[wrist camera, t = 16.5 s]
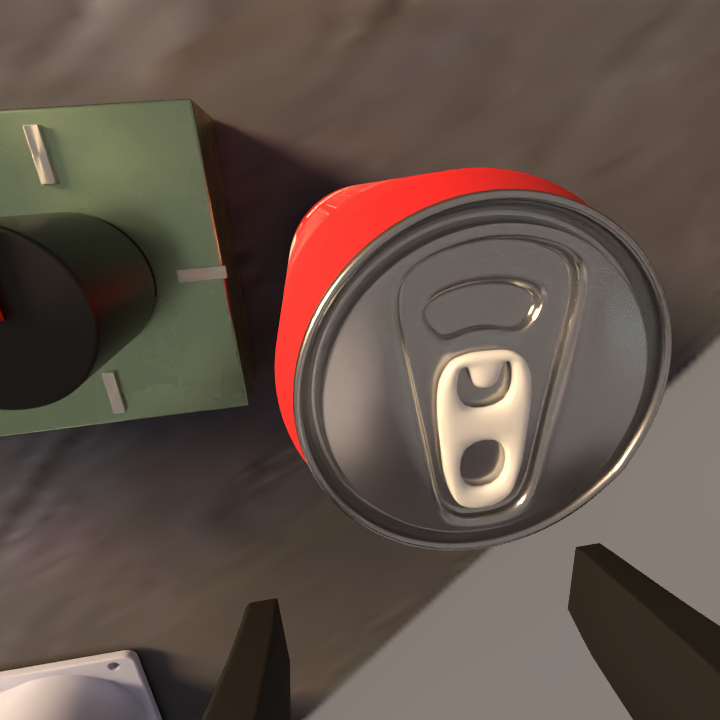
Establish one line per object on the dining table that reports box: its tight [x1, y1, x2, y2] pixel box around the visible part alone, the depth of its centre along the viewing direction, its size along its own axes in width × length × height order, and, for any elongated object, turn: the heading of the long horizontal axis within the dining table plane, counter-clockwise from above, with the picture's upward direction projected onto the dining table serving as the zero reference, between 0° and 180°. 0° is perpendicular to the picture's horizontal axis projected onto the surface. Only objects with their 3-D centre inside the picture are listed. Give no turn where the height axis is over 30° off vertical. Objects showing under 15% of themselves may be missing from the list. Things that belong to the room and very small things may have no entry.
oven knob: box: [0, 212, 155, 411], centre depth 11 cm, size 4×4×4 cm
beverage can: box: [275, 168, 672, 551], centre depth 11 cm, size 5×5×12 cm
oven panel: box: [0, 99, 256, 437], centre depth 14 cm, size 10×9×3 cm
